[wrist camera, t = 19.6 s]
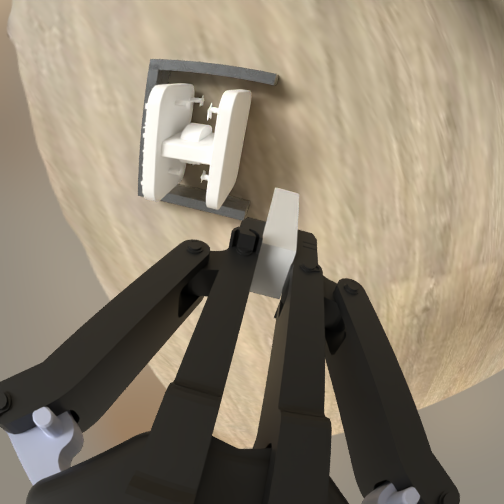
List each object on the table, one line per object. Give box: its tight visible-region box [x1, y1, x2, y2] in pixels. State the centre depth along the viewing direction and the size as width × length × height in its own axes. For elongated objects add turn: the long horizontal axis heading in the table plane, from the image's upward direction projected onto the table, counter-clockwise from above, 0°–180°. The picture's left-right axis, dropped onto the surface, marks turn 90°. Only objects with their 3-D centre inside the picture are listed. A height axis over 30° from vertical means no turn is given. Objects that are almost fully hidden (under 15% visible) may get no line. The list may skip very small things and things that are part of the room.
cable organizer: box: [141, 83, 251, 210], centre depth 35 cm, size 15×11×12 cm
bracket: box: [138, 59, 279, 221], centre depth 38 cm, size 17×21×4 cm
